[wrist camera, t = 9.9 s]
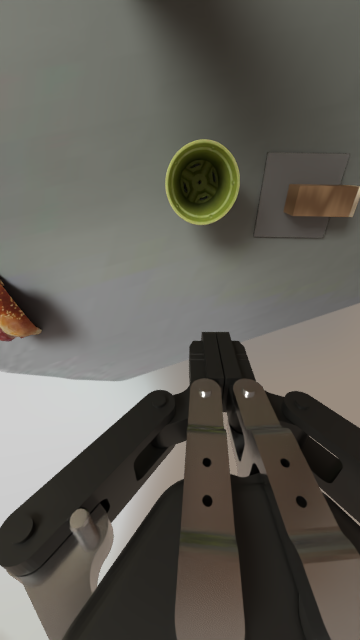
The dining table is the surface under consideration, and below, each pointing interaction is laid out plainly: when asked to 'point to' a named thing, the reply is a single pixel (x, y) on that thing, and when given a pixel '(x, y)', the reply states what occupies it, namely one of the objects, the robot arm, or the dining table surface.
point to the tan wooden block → (321, 200)
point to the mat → (275, 189)
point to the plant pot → (202, 182)
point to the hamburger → (13, 319)
